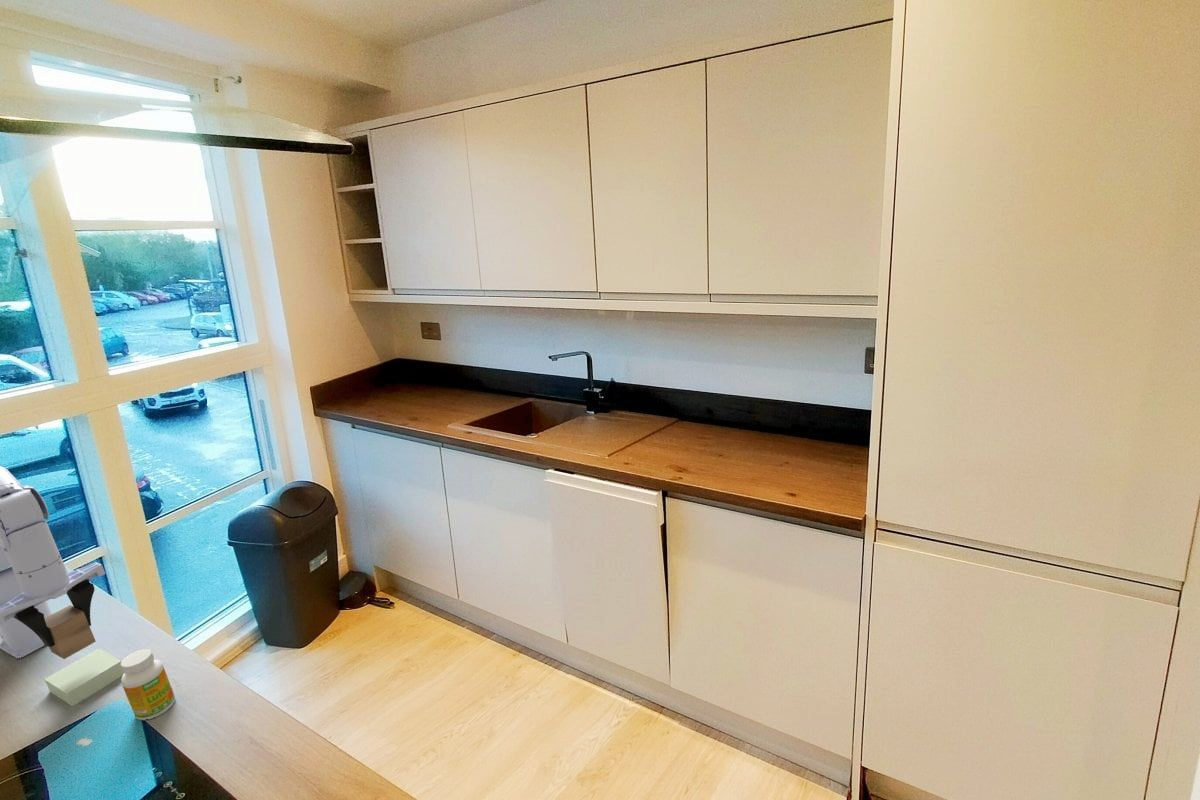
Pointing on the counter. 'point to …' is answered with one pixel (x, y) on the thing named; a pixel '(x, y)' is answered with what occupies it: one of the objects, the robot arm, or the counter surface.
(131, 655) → the supplement bottle
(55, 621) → the walnut block
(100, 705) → the counter surface
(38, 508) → the robot arm
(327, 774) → the counter surface
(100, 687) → the sage block
